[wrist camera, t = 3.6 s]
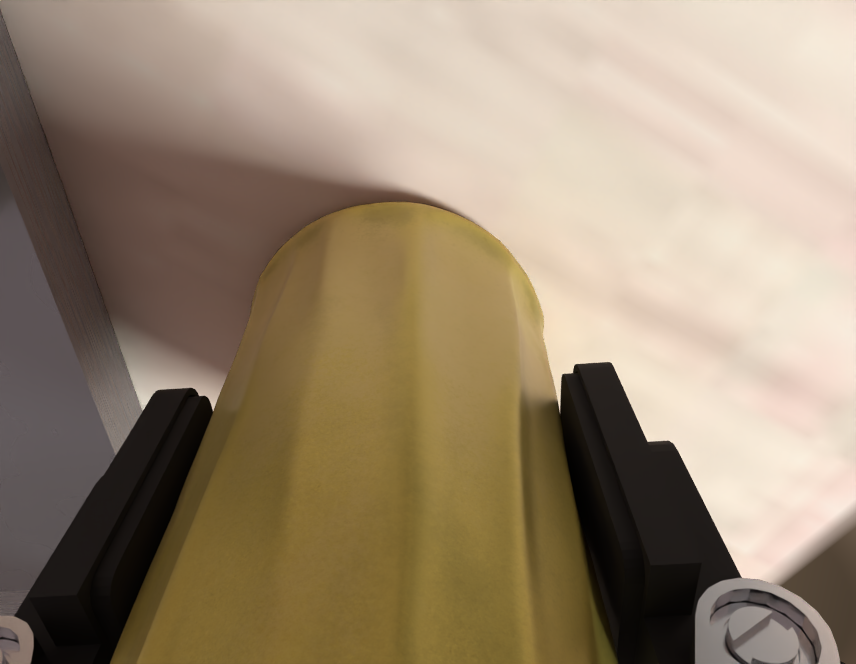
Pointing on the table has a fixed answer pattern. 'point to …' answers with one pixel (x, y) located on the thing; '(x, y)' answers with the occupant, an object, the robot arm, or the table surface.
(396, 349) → the vase
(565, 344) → the table surface
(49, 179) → the rail board
